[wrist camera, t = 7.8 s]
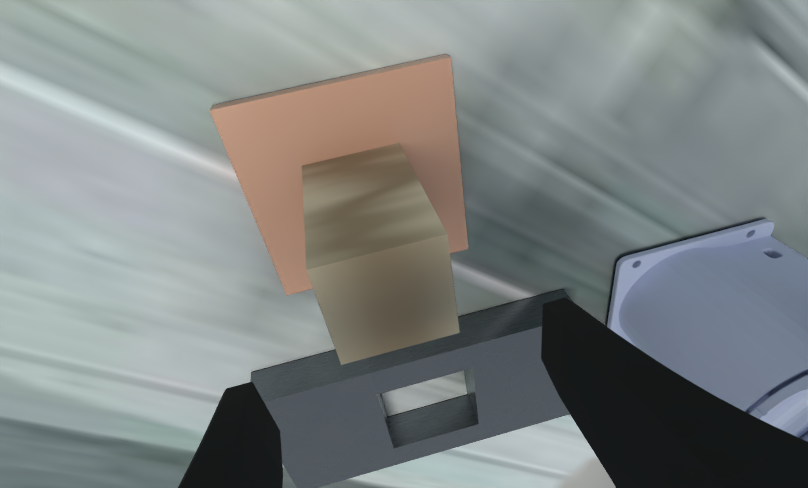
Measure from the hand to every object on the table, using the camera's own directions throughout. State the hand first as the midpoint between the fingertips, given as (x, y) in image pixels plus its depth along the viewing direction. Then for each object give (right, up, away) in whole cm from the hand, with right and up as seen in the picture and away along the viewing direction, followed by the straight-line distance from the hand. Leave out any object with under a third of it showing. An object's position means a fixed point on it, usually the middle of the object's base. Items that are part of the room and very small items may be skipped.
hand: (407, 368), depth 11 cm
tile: (-2, +6, +8) cm, 10 cm away
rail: (+1, -5, +17) cm, 17 cm away
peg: (-2, +5, +8) cm, 10 cm away
